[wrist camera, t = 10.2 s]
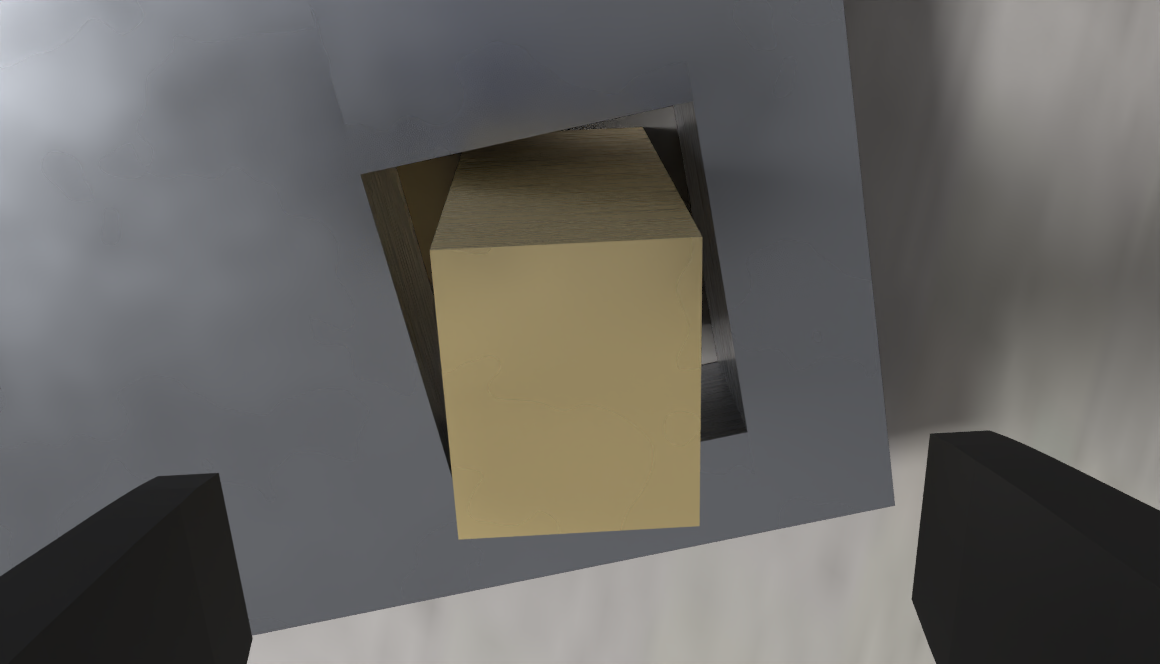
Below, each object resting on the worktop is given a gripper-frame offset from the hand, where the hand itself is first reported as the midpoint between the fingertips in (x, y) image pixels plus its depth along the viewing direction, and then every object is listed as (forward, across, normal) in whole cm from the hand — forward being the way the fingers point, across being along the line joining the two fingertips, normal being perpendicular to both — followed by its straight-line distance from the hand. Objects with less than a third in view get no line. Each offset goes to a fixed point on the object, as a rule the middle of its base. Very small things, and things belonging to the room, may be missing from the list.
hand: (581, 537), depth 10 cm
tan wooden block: (+10, 0, 0) cm, 10 cm away
